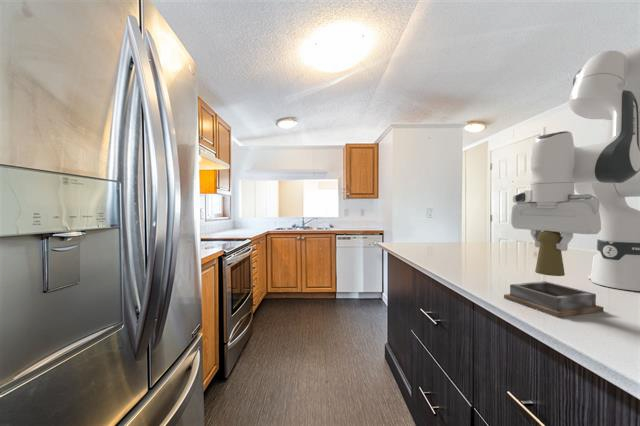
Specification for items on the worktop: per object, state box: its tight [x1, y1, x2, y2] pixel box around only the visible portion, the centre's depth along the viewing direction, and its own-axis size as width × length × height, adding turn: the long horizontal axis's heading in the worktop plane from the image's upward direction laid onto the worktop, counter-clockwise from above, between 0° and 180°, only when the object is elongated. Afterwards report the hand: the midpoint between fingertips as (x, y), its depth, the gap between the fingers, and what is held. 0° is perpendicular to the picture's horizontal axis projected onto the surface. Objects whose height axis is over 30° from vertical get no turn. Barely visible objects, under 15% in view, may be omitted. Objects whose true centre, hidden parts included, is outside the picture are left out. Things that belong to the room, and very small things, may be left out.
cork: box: [535, 231, 566, 277], centre depth 75 cm, size 6×6×11 cm
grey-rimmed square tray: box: [503, 280, 604, 318], centre depth 75 cm, size 14×14×4 cm
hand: (550, 248), depth 75 cm, fingers closed on cork, 4 cm apart
